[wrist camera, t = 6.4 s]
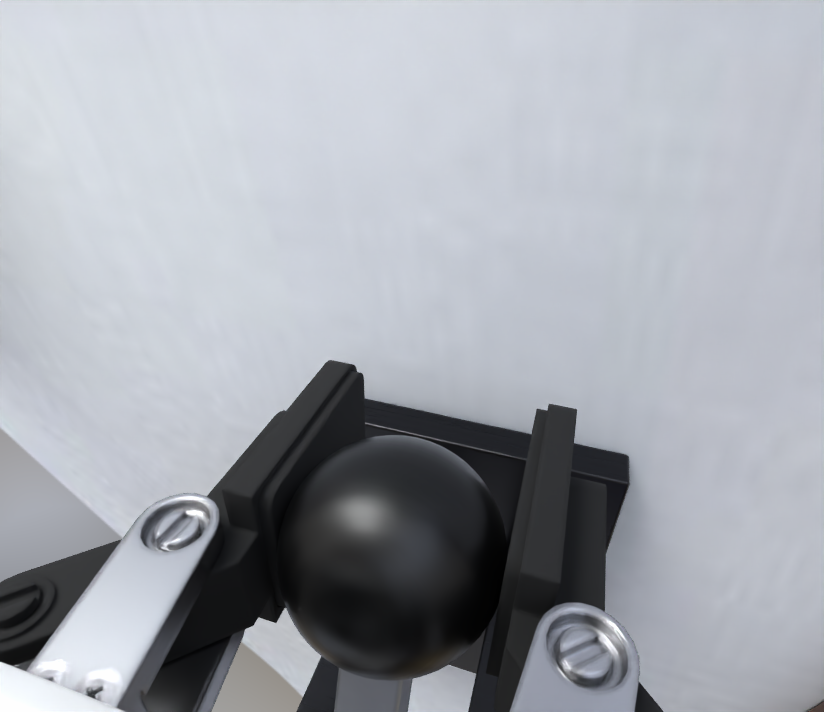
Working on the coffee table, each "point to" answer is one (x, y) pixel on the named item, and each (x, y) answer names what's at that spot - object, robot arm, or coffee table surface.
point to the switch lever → (390, 565)
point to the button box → (818, 708)
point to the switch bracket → (503, 474)
